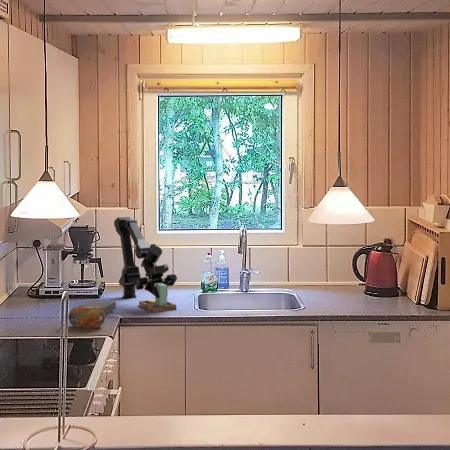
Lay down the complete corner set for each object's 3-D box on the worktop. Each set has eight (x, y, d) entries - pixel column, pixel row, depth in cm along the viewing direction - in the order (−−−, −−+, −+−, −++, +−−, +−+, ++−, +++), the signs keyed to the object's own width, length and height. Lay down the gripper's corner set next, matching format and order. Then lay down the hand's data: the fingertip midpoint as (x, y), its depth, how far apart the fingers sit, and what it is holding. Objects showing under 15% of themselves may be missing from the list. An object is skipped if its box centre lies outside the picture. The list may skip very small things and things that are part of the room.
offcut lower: (148, 305, 333) (147, 303, 333) (155, 304, 335) (155, 302, 335) (152, 307, 330) (151, 304, 330) (159, 306, 332) (159, 303, 332)
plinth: (91, 308, 331) (91, 300, 330) (115, 310, 327) (115, 302, 327) (78, 314, 319) (78, 305, 319) (103, 317, 316) (103, 307, 315)
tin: (68, 327, 299) (68, 307, 298) (71, 325, 302) (70, 305, 301) (103, 329, 296) (103, 308, 295) (106, 327, 299) (106, 306, 298)
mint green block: (155, 308, 328) (155, 284, 327) (161, 307, 330) (161, 283, 329) (160, 310, 324) (160, 286, 323) (167, 309, 326) (166, 285, 324)
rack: (139, 307, 333) (139, 301, 333) (160, 305, 339) (160, 298, 339) (154, 314, 321) (154, 307, 320) (176, 311, 327) (176, 304, 326)
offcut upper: (147, 303, 333) (147, 300, 333) (155, 302, 335) (155, 299, 335) (152, 304, 330) (152, 302, 330) (160, 303, 332) (160, 300, 332)
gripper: (137, 260, 323) (149, 289, 315) (175, 256, 333) (187, 284, 325) (130, 274, 330) (141, 303, 322) (167, 271, 340) (178, 298, 332)
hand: (162, 297), depth 325 cm, fingers open, 4 cm apart
